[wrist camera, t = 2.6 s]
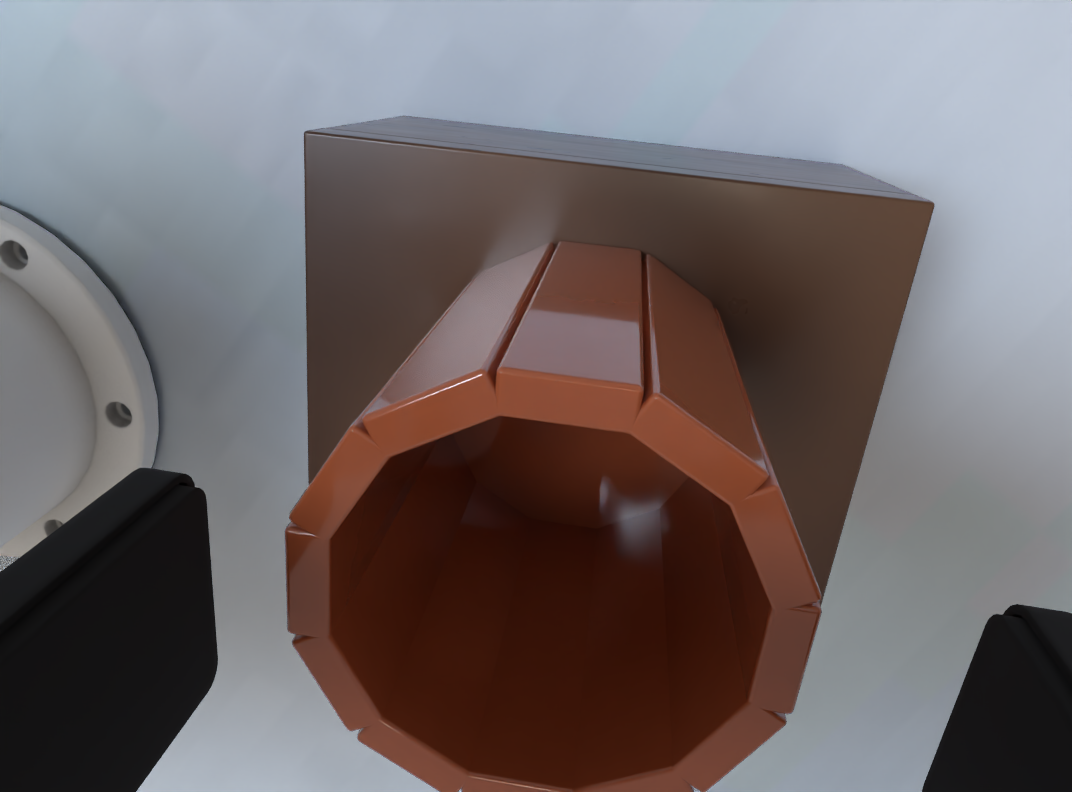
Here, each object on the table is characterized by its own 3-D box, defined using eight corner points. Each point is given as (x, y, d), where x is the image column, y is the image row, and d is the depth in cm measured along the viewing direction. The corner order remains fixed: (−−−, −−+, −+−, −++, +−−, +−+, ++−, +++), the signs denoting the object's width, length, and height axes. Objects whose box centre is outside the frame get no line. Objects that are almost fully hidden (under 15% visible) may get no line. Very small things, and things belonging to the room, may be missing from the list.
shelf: (391, 430, 26) (308, 549, 19) (401, 115, 22) (302, 131, 15) (769, 483, 25) (815, 627, 18) (844, 164, 21) (936, 202, 15)
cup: (420, 511, 18) (289, 774, 11) (434, 224, 16) (277, 337, 9) (709, 554, 18) (754, 856, 11) (770, 265, 15) (879, 418, 8)
